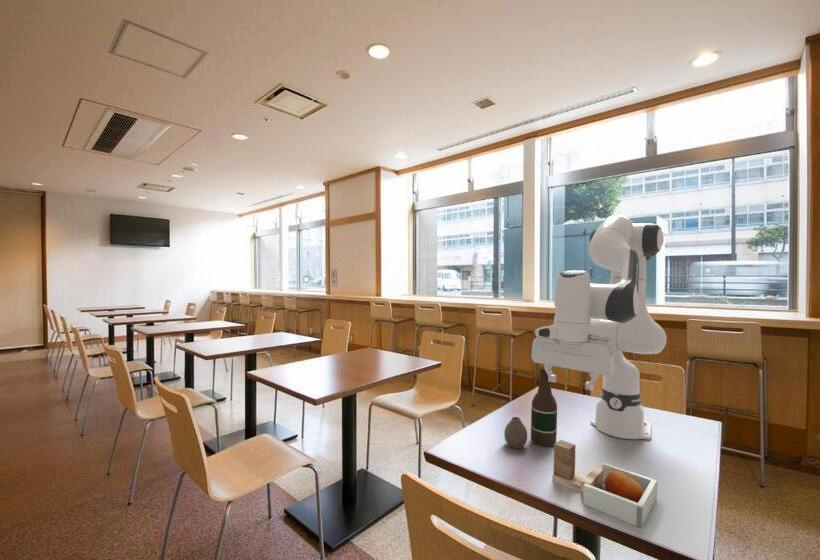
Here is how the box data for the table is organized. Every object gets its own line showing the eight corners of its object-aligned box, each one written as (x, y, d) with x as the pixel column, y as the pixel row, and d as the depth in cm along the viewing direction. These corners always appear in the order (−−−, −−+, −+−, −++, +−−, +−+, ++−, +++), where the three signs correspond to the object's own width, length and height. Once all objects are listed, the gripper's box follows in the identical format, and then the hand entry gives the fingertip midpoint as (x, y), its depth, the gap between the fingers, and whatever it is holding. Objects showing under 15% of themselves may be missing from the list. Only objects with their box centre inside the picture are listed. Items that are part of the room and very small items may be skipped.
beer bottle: (555, 439, 125) (557, 366, 125) (556, 449, 118) (558, 372, 117) (530, 435, 128) (532, 364, 127) (530, 445, 120) (532, 369, 120)
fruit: (589, 489, 93) (604, 460, 94) (612, 503, 95) (627, 474, 96) (614, 509, 85) (630, 477, 86) (639, 523, 87) (654, 492, 88)
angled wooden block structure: (563, 470, 105) (564, 436, 105) (602, 484, 98) (603, 448, 98) (548, 484, 98) (549, 447, 98) (589, 501, 91) (590, 461, 91)
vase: (528, 452, 115) (528, 423, 115) (504, 449, 117) (505, 421, 117) (525, 442, 122) (526, 415, 122) (503, 440, 124) (504, 413, 123)
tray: (603, 479, 101) (603, 462, 101) (656, 498, 92) (656, 480, 92) (583, 503, 90) (583, 484, 90) (641, 527, 82) (642, 507, 81)
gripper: (619, 336, 94) (617, 392, 94) (539, 327, 108) (538, 375, 108) (611, 339, 90) (609, 397, 90) (529, 329, 104) (528, 379, 104)
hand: (570, 385), depth 99 cm, fingers open, 8 cm apart
